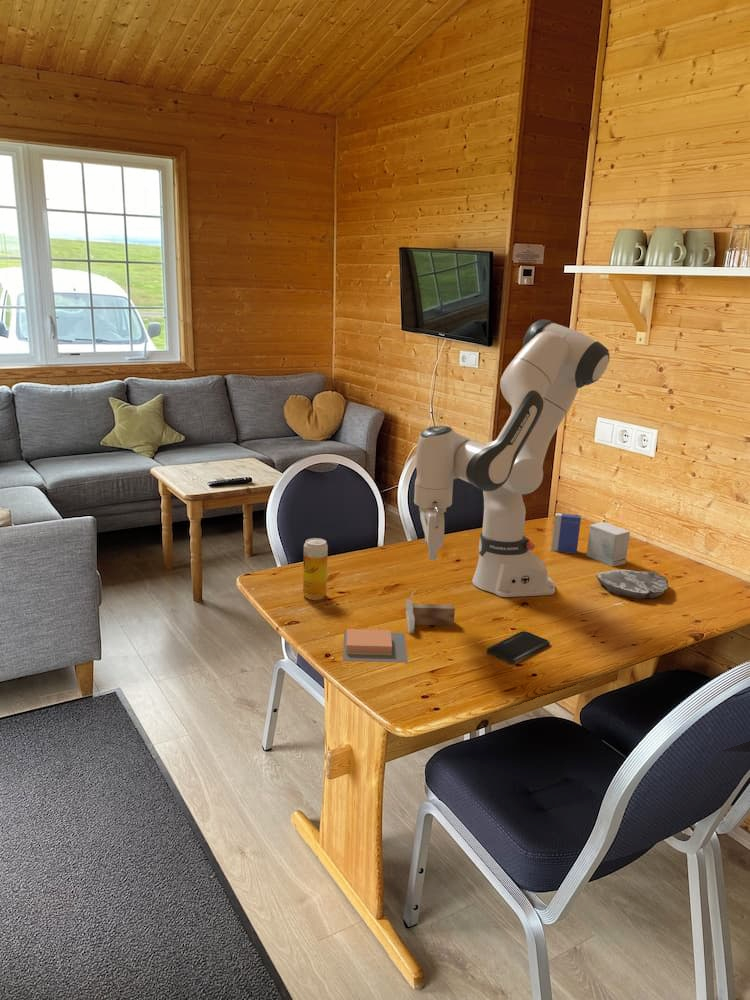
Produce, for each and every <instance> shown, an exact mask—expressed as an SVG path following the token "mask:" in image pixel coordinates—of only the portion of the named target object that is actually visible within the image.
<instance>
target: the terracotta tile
mask: <svg viewBox="0 0 750 1000" xmlns="http://www.w3.org/2000/svg"><path fill="white" fill-rule="evenodd" d="M346 631H347V645H346V654H369V655H392V640H391V633H392V631H391V630H390V629H364V628H363V629H361V628H360V629H359V628H357V629H356V628H352V629H351V628H347V629H346Z"/></svg>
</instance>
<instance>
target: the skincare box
mask: <svg viewBox="0 0 750 1000" xmlns="http://www.w3.org/2000/svg"><path fill="white" fill-rule="evenodd" d="M630 533H631V531H629V530H627V529H624V528H622V527H619V526H616V525H614V524H610V523H607V522H605V521H601V522H597V523H592V524H590V525H589V531H588V539H587V548H586V549H587V550H586V557H588V558H591V559H593V560H595V561H598V562H600V563H603V564H605V565H606V566H609V567H612V568H614V567H617V566H618V567H619V566H621V564H622V565H625V564H626V563H627V555H628V548H629V541H630V540H629V539H630V536H631V535H630Z"/></svg>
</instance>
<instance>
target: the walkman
mask: <svg viewBox="0 0 750 1000" xmlns="http://www.w3.org/2000/svg"><path fill="white" fill-rule="evenodd" d="M553 520H554V521H553V530H552V539H551V546H550V547H551V549H550V551H553V552H560V553H567V554H569V553H570V554H577V553H578V546H579V545H578V544H579V536H580V528H581V521H582V516H581V515H578V514H577V513H573V514H570V513H569V514H568V513H560V512H556V513H555V514H554V519H553Z"/></svg>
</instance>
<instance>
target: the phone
mask: <svg viewBox="0 0 750 1000" xmlns="http://www.w3.org/2000/svg"><path fill="white" fill-rule="evenodd" d="M548 647H550V640H548V639H546V638H543V637H541V636H539V635H536V634H534V633H533V632H529V631H526V630H525V631H523V630H522V631H520V632H518V633H515V634H513V635H511V636H510V637H508V638H504V639H503V640H501V641H499V642H497V643H495V644H492V645H491V646H489V647H487V648H486V653H487V654H488V655H490V656H492V657H494V658H497V659H500V660H501V661H503V662H506V663H507V664H510V665H516V664H518V663H520V662H521V661H524V660H525V659H527V658H529V657H531V656H533V655H535V654H537V653H539V652H540V651H542V650H544V649H546V648H548Z"/></svg>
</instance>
